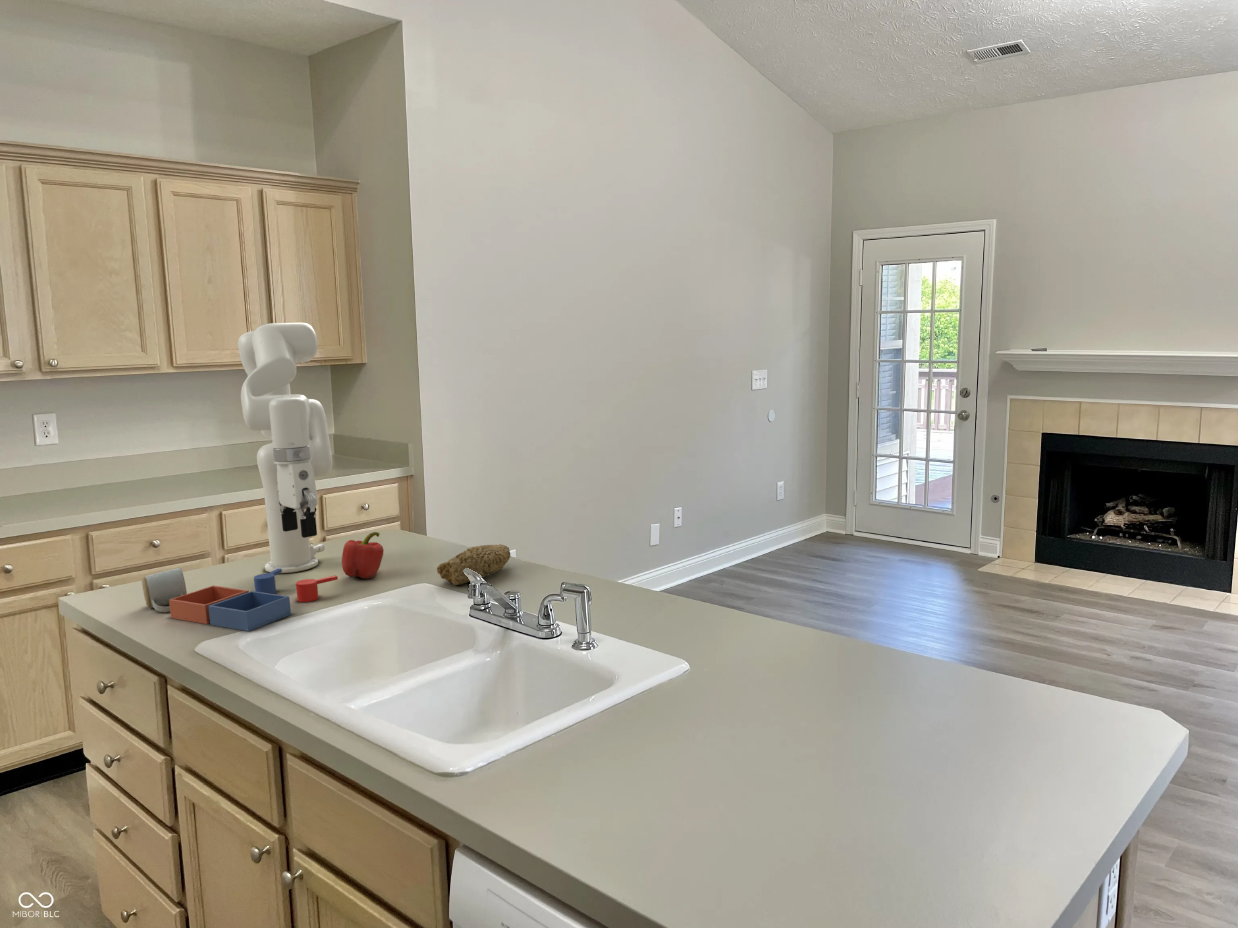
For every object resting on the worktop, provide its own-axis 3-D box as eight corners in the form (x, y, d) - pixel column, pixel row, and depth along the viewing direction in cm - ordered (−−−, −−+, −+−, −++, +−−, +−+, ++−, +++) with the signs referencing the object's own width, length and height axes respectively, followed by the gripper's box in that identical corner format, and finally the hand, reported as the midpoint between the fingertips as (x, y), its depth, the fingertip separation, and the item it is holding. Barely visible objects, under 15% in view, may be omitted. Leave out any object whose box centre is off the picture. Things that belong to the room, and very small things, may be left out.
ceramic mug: (143, 604, 201) (139, 570, 200) (184, 596, 206) (180, 564, 204) (149, 617, 193) (145, 582, 191) (191, 609, 197) (188, 574, 196)
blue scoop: (270, 595, 204) (268, 578, 204) (251, 595, 205) (249, 578, 204) (289, 584, 213) (288, 567, 213) (272, 584, 214) (270, 567, 213)
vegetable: (369, 567, 225) (365, 528, 224) (397, 573, 219) (394, 532, 218) (332, 578, 216) (328, 537, 215) (360, 584, 210) (356, 542, 209)
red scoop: (302, 603, 198) (300, 585, 197) (294, 599, 201) (292, 581, 200) (342, 593, 204) (340, 576, 203) (333, 590, 207) (331, 573, 206)
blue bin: (253, 608, 195) (252, 590, 195) (291, 614, 190) (289, 596, 190) (210, 624, 185) (208, 605, 185) (248, 631, 180) (246, 611, 180)
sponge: (463, 594, 204) (531, 558, 216) (452, 562, 202) (520, 528, 215) (434, 593, 214) (500, 559, 226) (423, 563, 212) (490, 530, 225)
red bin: (215, 602, 201) (213, 585, 200) (250, 608, 196) (248, 590, 195) (171, 617, 191) (168, 599, 190) (206, 624, 186) (204, 605, 185)
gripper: (326, 455, 191) (334, 535, 194) (292, 450, 204) (299, 525, 206) (292, 460, 186) (299, 542, 189) (259, 454, 199) (266, 531, 201)
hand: (299, 533), depth 197 cm, fingers open, 9 cm apart
